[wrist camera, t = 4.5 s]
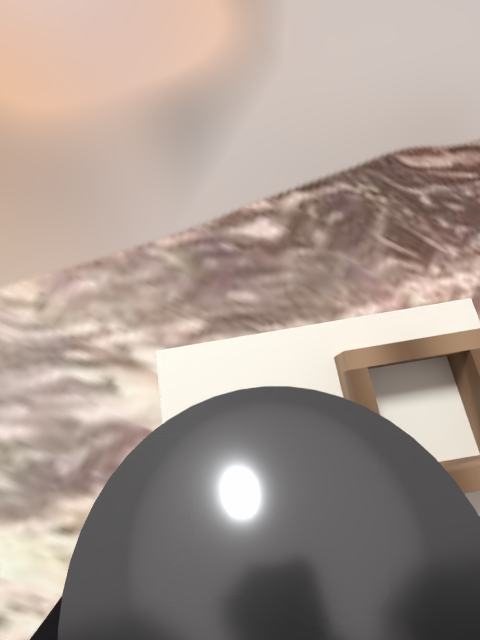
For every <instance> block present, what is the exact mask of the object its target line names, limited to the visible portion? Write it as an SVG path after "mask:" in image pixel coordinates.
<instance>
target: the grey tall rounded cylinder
mask: <svg viewBox="0 0 480 640" xmlns="http://www.w3.org/2000/svg"><path fill="white" fill-rule="evenodd" d="M58 640H480V517H479V516H478V514H477V512H476V510H475V508H474V507H473V506H472V504H471V503H470V501H469V500H468V498H467V497H466V496H465V494H464V493H463V491H462V490H461V488H460V487H459V486H458V484H457V483H456V481H455V480H454V479H453V478H452V477H451V476H450V474H449V473H448V472H447V471H446V470H445V469H444V468H443V466H442V465H441V464H440V463H439V462H438V461H437V460H436V458H435V457H434V456H433V455H431V454H430V453H429V452H428V451H427V450H426V449H425V448H424V447H423V446H422V445H421V444H419V443H418V442H417V441H416V440H415V439H414V438H413V437H412V436H410V435H409V434H407V433H406V432H405V431H403V430H402V429H401V428H399V427H398V426H396V425H395V424H394V423H392V422H391V421H389V420H388V419H386V418H384V417H382V416H381V415H379V414H377V413H375V412H374V411H372V410H370V409H368V408H366V407H365V406H362V405H360V404H357V403H355V402H352V401H350V400H347V399H345V398H342V397H340V396H336V395H333V394H329V393H325V392H321V391H318V390H313V389H306V388H298V387H291V386H262V387H255V388H248V389H240V390H236V391H232V392H229V393H225V394H221V395H218V396H214V397H212V398H209V399H207V400H205V401H202V402H200V403H198V404H195V405H193V406H191V407H189V408H187V409H186V410H184V411H182V412H180V413H179V414H177V415H175V416H174V417H172V418H170V419H169V420H167V421H166V422H165V423H163V424H162V425H161V426H159V427H158V428H157V429H156V430H154V431H153V432H152V433H150V434H149V435H148V436H147V437H146V438H145V439H144V440H143V441H142V442H141V443H140V444H139V445H138V446H137V447H136V448H135V449H134V450H133V451H132V452H131V453H130V454H129V455H128V456H127V457H126V458H125V459H124V461H123V462H122V463H121V464H120V466H119V467H118V468H117V469H116V471H115V472H114V473H113V475H112V476H111V477H110V478H109V480H108V482H107V483H106V485H105V487H104V488H103V490H102V491H101V493H100V495H99V496H98V498H97V499H96V501H95V503H94V505H93V507H92V509H91V511H90V513H89V515H88V517H87V519H86V521H85V524H84V526H83V528H82V530H81V532H80V535H79V538H78V541H77V544H76V547H75V549H74V552H73V555H72V558H71V561H70V565H69V569H68V573H67V578H66V582H65V586H64V590H63V595H62V602H61V610H60V618H59V626H58Z"/></svg>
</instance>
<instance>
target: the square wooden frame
mask: <svg viewBox="0 0 480 640" xmlns="http://www.w3.org/2000/svg"><path fill="white" fill-rule="evenodd" d="M444 356H447V359H448V362H449V365H450V367H451V370H452V373H453V376H454V379H455V382H456V385H457V388H458V391H459V394H460V397H461V400H462V403H463V406H464V409H465V412H466V415H467V418H468V421H469V424H470V427H471V430H472V432H473V435H474V438H475V441H476V444H477V447H478V450H479V453H480V328H478V329H472V330H466V331H460V332H455V333H449V334H443V335H437V336H431V337H425V338H419V339H413V340H407V341H401V342H395V343H389V344H383V345H377V346H371V347H365V348H359V349H353V350H347V351H343V352H341V353H340V354H338V355H336V356H335V357H334V361H335V365H336V369H337V373H338V377H339V381H340V385H341V390H342V394H343V398H345V399H347V400H350V401H352V402H355V403H357V404H360V405H362V406H365V407H366V408H368V409H370V410H372V411H374V412H375V413H377V414H379V415H380V412H379V409H378V405H377V401H376V398H375V394H374V390H373V386H372V383H371V379H370V375H369V371H368V369H373V368H379V367H385V366H391V365H397V364H403V363H409V362H415V361H421V360H427V359H433V358H439V357H444ZM439 463H440V464H441V465H442V466H443V468H444V469H445V470H446V471H447V472H448V473H449V474H450V476H451V477H452V478H453V479H454V480H455V481H456V483H457V484H458V486H459V487H460V488H461V490H462V491H463V493H464V494H465V493H471V492H477V491H480V455H477V456H471V457H465V458H459V459H453V460H447V461H441V462H439Z"/></svg>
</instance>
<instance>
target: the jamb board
mask: <svg viewBox="0 0 480 640" xmlns="http://www.w3.org/2000/svg"><path fill="white" fill-rule="evenodd" d="M478 328H480V321H479V318H478V316H477V313H476V311H475V308H474V305H473V303H472V300H471V298H469V299H463V300H457V301H451V302H445V303H439V304H433V305H427V306H421V307H415V308H409V309H403V310H397V311H391V312H385V313H379V314H373V315H367V316H361V317H355V318H349V319H343V320H337V321H331V322H325V323H320V324H314V325H308V326H302V327H296V328H290V329H284V330H278V331H272V332H266V333H260V334H254V335H248V336H242V337H236V338H230V339H224V340H218V341H212V342H206V343H200V344H194V345H188V346H182V347H176V348H170V349H164V350H158V351H156V359H157V370H158V381H159V392H160V403H161V414H162V424H163V423H165V422H166V421H167V420H169V419H170V418H172V417H174V416H175V415H177V414H179V413H180V412H182V411H184V410H186V409H187V408H189V407H191V406H193V405H195V404H198V403H200V402H202V401H205V400H207V399H209V398H212V397H214V396H218V395H221V394H225V393H229V392H232V391H236V390H240V389H248V388H255V387H262V386H291V387H298V388H306V389H313V390H318V391H321V392H325V393H329V394H333V395H336V396H340V397H342V398H343V394H342V390H341V385H340V381H339V377H338V373H337V369H336V365H335V361H334V357H335V356H336V355H338V354H340V353H341V352H343V351H347V350H353V349H359V348H365V347H371V346H377V345H383V344H389V343H395V342H401V341H407V340H413V339H419V338H425V337H431V336H437V335H443V334H449V333H455V332H460V331H466V330H472V329H478ZM368 371H369V375H370V379H371V383H372V386H373V390H374V394H375V398H376V401H377V405H378V409H379V412H380V415H381V416H382V417H384V418H386V419H388V420H389V421H391V422H392V423H394V424H395V425H396V426H398V427H399V428H401V429H402V430H403V431H405V432H406V433H407V434H409V435H410V436H412V437H413V438H414V439H415V440H416V441H417V442H418V443H419V444H421V445H422V446H423V447H424V448H425V449H426V450H427V451H428V452H429V453H430V454H431V455H433V456H434V457H435V458H436V460H437V461H438V462H441V461H447V460H453V459H459V458H465V457H471V456H477V455H480V453H479V450H478V447H477V444H476V441H475V438H474V435H473V432H472V430H471V427H470V424H469V421H468V418H467V415H466V412H465V409H464V406H463V403H462V400H461V397H460V394H459V391H458V388H457V385H456V382H455V379H454V376H453V373H452V370H451V367H450V365H449V362H448V359H447V356H444V357H439V358H433V359H427V360H421V361H415V362H409V363H403V364H397V365H391V366H385V367H379V368H373V369H368ZM465 496H466V497H467V498H468V500H469V501H470V503H471V504H472V506H473V507H474V508H475V510H476V512H477V514H478V515H479V516H480V491H477V492H471V493H465Z"/></svg>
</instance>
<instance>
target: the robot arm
mask: <svg viewBox="0 0 480 640" xmlns="http://www.w3.org/2000/svg"><path fill="white" fill-rule="evenodd" d="M478 516H479V515H478ZM479 517H480V516H479ZM61 602H62V597H61V598H60V599H59V601H58V602H57V604H56V605H55V606H54V608H53V609H52V610H51V612H50V613H49V615H48V616H47V617H46V619H45V620H44V621H43V623H42V624H41V625H40V627H39V628H38V629H37V631H36V632H35V633H34V635H33V636H32V637H31V639H30V640H58V626H59V618H60V610H61Z"/></svg>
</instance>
